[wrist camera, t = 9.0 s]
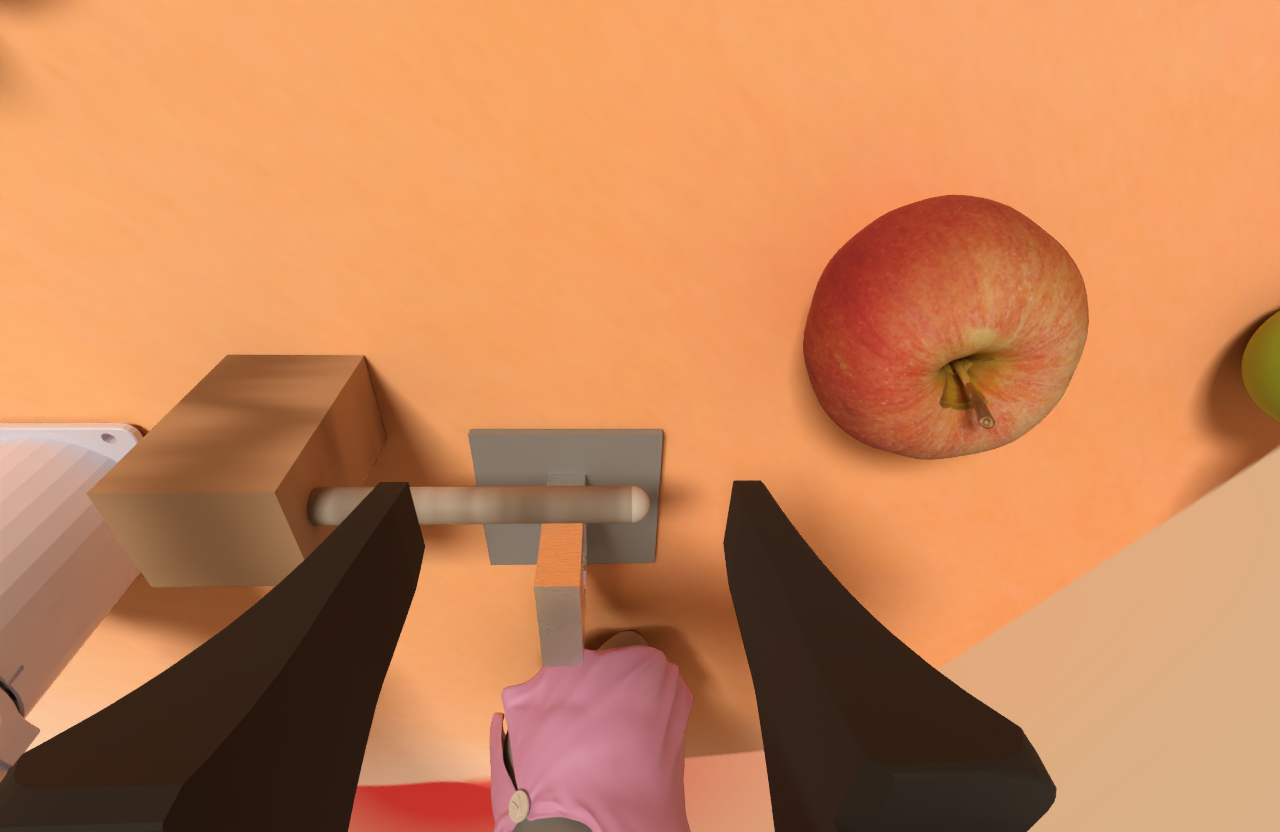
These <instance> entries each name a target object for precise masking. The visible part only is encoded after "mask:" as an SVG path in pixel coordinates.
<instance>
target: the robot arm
mask: <svg viewBox="0 0 1280 832" xmlns="http://www.w3.org/2000/svg"><path fill="white" fill-rule="evenodd" d="M142 438H143V436H142V435H141V433H140V432H139V430H138V429H136V428H135V427H134V426H131V425H129V424H124V423H0V832H348V828H349V822H350V818H351V813H352V808H353V803H354V798H355V793H356V789H357V784H358V780H359V775H360V771H361V766H362V762H363V758H364V753H365V749H366V745H367V741H368V736H369V732H370V728H371V724H372V720H373V716H374V712H375V708H376V704H377V701H378V698H379V694H380V691H381V688H382V685H383V682H384V679H385V676H386V673H387V670H388V668H389V665H390V662H391V659H392V656H393V653H394V651H395V648H396V645H397V642H398V639H399V637H400V634H401V631H402V628H403V625H404V623H405V620H406V617H407V614H408V611H409V608H410V605H411V602H412V599H413V596H414V593H415V591H416V587H417V582H418V578H419V574H420V569H421V564H422V559H423V554H424V549H425V544H424V540H423V537H422V533H421V529H420V525H419V521H418V518H417V514H416V510H415V506H414V502H413V499H412V495H411V491H410V487H409V483H408V482H380V483H379V484H378V485H377V486H376V487H375V488H374V489H373V490H372V491H371V492H370V493H369V494H368V495H367V496H366V497H365V498H364V499H363V500H362V501H361V502H360V503H359V504H358V506H357V507H356V508H355V509H354V510H353V511H352V512H351V513H350V514H349V515H348V516H347V517H346V518H345V519H344V520H343V521H342V522H341V523H340V524H339V526H338V527H337V528H336V529H335V530H334V531H333V532H332V533H331V534H330V535H329V536H328V537H327V538H326V539H325V540H324V541H323V542H322V543H321V544H320V545H319V546H318V547H317V548H316V549H315V550H314V551H313V552H312V553H311V554H310V555H309V556H308V557H307V558H306V559H305V560H304V561H303V562H302V563H301V564H299V565H298V566H297V567H296V568H295V569H294V570H293V571H292V572H291V573H290V574H289V575H288V576H286V577H285V578H284V579H283V580H282V581H281V582H280V583H279V584H278V585H277V586H276V587H275V588H273V589H272V590H271V591H270V592H269V593H268V594H267V595H265V596H264V597H263V598H262V599H261V600H260V601H258V602H257V603H256V604H255V605H254V606H252V607H251V608H250V609H249V610H247V611H246V612H245V613H244V614H242V615H241V616H240V617H239V618H237V619H236V620H235V621H234V622H232V623H231V624H230V625H229V626H227V627H226V628H225V629H223V630H222V631H221V632H219V633H218V634H216V635H215V636H214V637H212V638H211V639H209V640H208V641H207V642H205V643H204V644H202V645H201V646H200V647H198V648H197V649H195V650H194V651H193V652H191V653H190V654H188V655H187V656H185V657H184V658H183V659H181V660H180V661H178V662H177V663H176V664H174V665H173V666H171V667H170V668H168V669H167V670H165V671H164V672H162V673H161V674H159V675H158V676H156V677H154V678H153V679H151V680H150V681H148V682H147V683H145V684H144V685H142V686H141V687H139V688H137V689H136V690H134V691H132V692H131V693H129V694H128V695H126V696H124V697H123V698H121V699H119V700H118V701H116V702H115V703H113V704H111V705H110V706H108V707H106V708H104V709H103V710H101V711H99V712H98V713H96V714H94V715H93V716H91V717H89V718H87V719H85V720H84V721H82V722H80V723H78V724H76V725H75V726H73V727H71V728H69V729H67V730H66V731H64V732H62V733H60V734H58V735H57V736H55V737H53V738H51V739H49V740H48V741H46V742H44V743H42V744H40V745H39V746H37V747H35V748H33V749H31V750H29V751H27V752H25V751H26V749H27V748H28V747H29V745H30V744H31V743H32V742H33V740H34V739H35V738H36V736H37V735H38V734H39V732H40V729H39V728H37V727H36V726H34V725H32V724H30V723H29V722H28V721H26V720H25V718H26V716H27V715H28V714H29V712H30V711H31V710H32V709H33V707H34V706H35V705H36V704H37V702H38V701H39V700H40V699H41V697H42V696H43V695H44V694H45V692H46V691H47V690H48V689H49V687H50V686H51V685H52V683H53V682H54V681H55V680H56V678H57V677H58V676H59V675H60V673H61V672H62V671H63V670H64V668H65V667H66V666H67V665H68V663H69V662H70V661H71V659H72V658H73V657H74V656H75V654H76V653H77V652H78V651H79V649H80V648H81V647H82V646H83V644H84V643H85V642H86V641H87V639H88V638H89V637H90V635H91V634H92V633H93V632H94V630H95V629H96V628H97V627H98V625H99V624H100V623H101V622H102V620H103V619H104V618H105V617H106V615H107V614H108V613H109V611H110V610H111V609H112V608H113V606H114V605H115V604H116V603H117V601H118V600H119V599H120V598H121V596H122V595H123V594H124V593H125V591H126V590H127V589H128V587H129V586H130V585H131V584H132V582H133V581H134V580H135V579H136V577H137V576H138V575H139V574H140V570H139V569H138V567H137V566H136V565H135V563H134V562H133V560H132V559H131V557H130V556H129V554H128V553H127V552H126V550H125V549H124V547H123V546H122V544H121V543H120V541H119V540H118V539H117V537H116V536H115V534H114V533H113V531H112V530H111V529H110V527H109V526H108V524H107V523H106V521H105V520H104V518H103V517H102V516H101V514H100V513H99V511H98V510H97V508H96V507H95V505H94V504H93V503H92V501H91V500H90V498H89V497H88V495H87V494H86V493H87V492H88V491H89V490H90V489H91V488H92V487H93V486H94V485H95V484H96V483H97V482H98V481H99V480H100V479H101V478H102V477H103V476H105V475H106V474H107V473H108V472H109V471H110V470H111V469H112V468H113V467H114V466H115V465H116V464H117V463H118V462H119V461H120V460H121V459H122V458H123V457H124V456H125V455H126V454H127V453H128V452H129V451H130V450H131V449H132V448H133V447H134V446H135V445H136V444H137V443H138V442H139V441H140V440H141V439H142ZM723 544H724V552H725V560H726V568H727V575H728V583H729V588H730V592H731V596H732V600H733V604H734V608H735V612H736V616H737V620H738V624H739V628H740V632H741V636H742V640H743V644H744V647H745V651H746V655H747V659H748V663H749V667H750V671H751V675H752V679H753V684H754V689H755V694H756V699H757V706H758V712H759V719H760V725H761V732H762V738H763V745H764V752H765V759H766V766H767V773H768V781H769V788H770V796H771V804H772V812H773V820H774V828H775V832H1027V831H1028V830H1029V829H1030V828H1031V827H1032V826H1033V825H1034V824H1035V823H1036V822H1037V821H1038V820H1039V819H1040V818H1041V817H1042V816H1043V815H1044V814H1045V813H1046V812H1047V811H1048V810H1049V808H1050V807H1051V805H1052V804H1053V803H1054V801H1055V798H1056V787H1055V785H1054V783H1053V781H1052V779H1051V778H1050V776H1049V774H1048V772H1047V770H1046V768H1045V766H1044V764H1043V763H1042V761H1041V759H1040V757H1039V755H1038V754H1037V752H1036V750H1035V749H1034V747H1033V746H1032V744H1031V743H1030V742H1029V740H1028V738H1027V737H1026V735H1025V734H1024V732H1023V730H1022V729H1021V728H1020V727H1019V726H1018V725H1016V724H1014V723H1013V722H1011V721H1010V720H1008V719H1007V718H1005V717H1004V716H1002V715H1001V714H999V713H998V712H996V711H995V710H993V709H992V708H990V707H989V706H987V705H986V704H984V703H983V702H981V701H979V700H978V699H976V698H975V697H973V696H972V695H970V694H969V693H967V692H966V691H965V690H963V689H962V688H960V687H959V686H958V685H956V684H955V683H954V682H952V681H951V680H950V679H948V678H947V677H945V676H944V675H943V674H941V673H940V672H939V671H937V670H936V669H935V668H933V667H932V666H931V665H930V664H928V663H927V662H926V661H925V660H923V659H922V658H921V657H920V656H919V655H917V654H916V653H915V652H914V651H912V650H911V649H910V648H909V647H908V646H906V645H905V644H904V643H903V642H902V641H900V640H899V639H898V638H897V637H896V636H894V635H893V634H892V633H891V632H890V631H889V630H888V629H887V628H885V627H884V626H883V625H882V624H881V623H880V622H879V621H878V620H877V619H876V618H875V617H873V616H872V615H871V614H870V613H869V612H868V611H867V610H866V609H865V608H864V607H863V606H862V605H861V604H860V603H859V602H858V601H857V600H856V599H855V598H854V597H853V596H852V595H851V594H850V593H849V592H848V590H847V589H846V588H845V587H844V586H843V585H842V584H841V583H840V582H839V581H838V580H837V578H836V577H835V576H834V575H833V574H832V573H831V572H830V571H829V569H828V568H827V567H826V566H825V565H824V564H823V562H822V561H821V560H820V559H819V558H818V557H817V555H816V554H815V553H814V552H813V550H812V549H811V548H810V547H809V545H808V544H807V543H806V542H805V540H804V539H803V538H802V537H801V535H800V534H799V533H798V531H797V530H796V529H795V527H794V526H793V525H792V523H791V522H790V521H789V519H788V518H787V516H786V515H785V514H784V512H783V511H782V510H781V508H780V507H779V505H778V504H777V502H776V501H775V500H774V498H773V497H772V495H771V494H770V492H769V491H768V489H767V488H766V486H765V485H764V484H763V483H762V482H761V481H733V487H732V494H731V500H730V506H729V512H728V518H727V524H726V531H725V537H724V543H723ZM24 752H25V753H24Z"/></svg>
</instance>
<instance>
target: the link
mask: <svg viewBox="0 0 1280 832" xmlns="http://www.w3.org/2000/svg"><path fill="white" fill-rule="evenodd" d="M547 486H586V477H585V473H551V474H548V480H547ZM587 559H588V542H587V523H552V524H542V528H541V536H540V544H539V552H538V560H537V568H536V576H535V584H534V590H535V598H536V607H537V616H538V625H539V634H540V642H541V651H542V660H543V667H560V666H583V661H584V636H585V610H586V597H585V589H584V585H586V584H587Z"/></svg>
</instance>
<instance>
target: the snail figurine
mask: <svg viewBox="0 0 1280 832" xmlns="http://www.w3.org/2000/svg"><path fill="white" fill-rule="evenodd" d="M1241 370H1242V379H1243V382H1244V385H1245V388H1246V390H1247V392H1248V394H1249V396H1250V397H1251V399H1252V400H1253V401H1254V403H1255V404H1256V405H1257V406H1258V407H1259V408H1260V409H1261V410H1262V411H1263V412H1264V413H1265V414H1267V415H1268V416H1269V417H1271V418H1272V419H1274V420H1275V421H1277V422H1279V423H1280V311H1278V312H1277V313H1275V314H1274V315H1272V316H1271V317H1270V318H1269V319H1267V320H1266V321H1265V322H1264V323H1263V324H1262V325H1261V326H1260V327H1259V328H1258V329H1257V330H1256V332H1255V333H1254V334H1253V336H1252V337H1251V339H1250V340H1249V342H1248V344H1247V346H1246V348H1245V351H1244V354H1243V358H1242V367H1241Z"/></svg>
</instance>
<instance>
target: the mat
mask: <svg viewBox="0 0 1280 832" xmlns="http://www.w3.org/2000/svg"><path fill="white" fill-rule="evenodd" d="M468 436H469V442H470V448H471V454H472V459H473V465H474V471H475V477H476V482H477V486H547V480H548V474H551V473H585V477H586V486H637V487H639V488H641V489H643V490H644V491H645V492H646V493H647V495H648V497H649V500H650V508H649V511H648V513H647V515H646V516H645V517H644V518H643V519H642V520H640V521H638V522H635V523H587V542H588V559H587V564H616V563H654V561H655V546H656V531H657V516H658V501H659V486H660V471H661V456H662V441H663V432H662V429H470V431H469V435H468ZM541 528H542V524H484V529H485V534H486V540H487V546H488V552H489V557H490V563H491V565H529V564H537V560H538V552H539V544H540V536H541Z"/></svg>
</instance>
